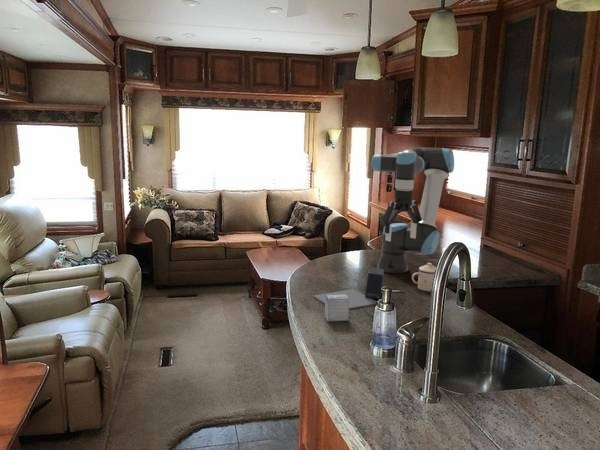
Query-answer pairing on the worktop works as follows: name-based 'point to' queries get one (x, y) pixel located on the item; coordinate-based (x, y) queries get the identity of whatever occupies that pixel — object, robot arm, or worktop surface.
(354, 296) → the slate mat
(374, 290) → the small box
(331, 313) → the medicine box
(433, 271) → the teacup with lid
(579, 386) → the worktop surface
